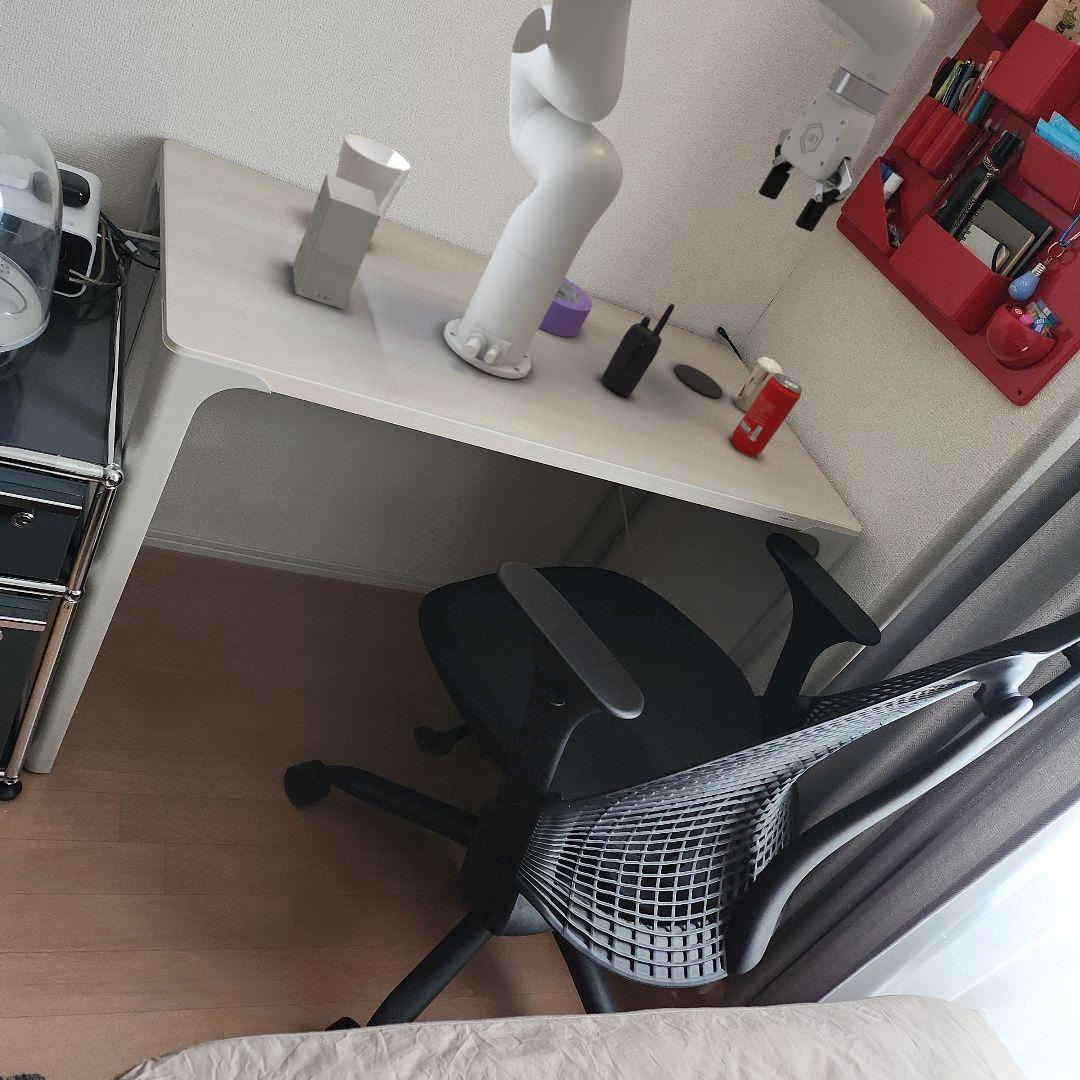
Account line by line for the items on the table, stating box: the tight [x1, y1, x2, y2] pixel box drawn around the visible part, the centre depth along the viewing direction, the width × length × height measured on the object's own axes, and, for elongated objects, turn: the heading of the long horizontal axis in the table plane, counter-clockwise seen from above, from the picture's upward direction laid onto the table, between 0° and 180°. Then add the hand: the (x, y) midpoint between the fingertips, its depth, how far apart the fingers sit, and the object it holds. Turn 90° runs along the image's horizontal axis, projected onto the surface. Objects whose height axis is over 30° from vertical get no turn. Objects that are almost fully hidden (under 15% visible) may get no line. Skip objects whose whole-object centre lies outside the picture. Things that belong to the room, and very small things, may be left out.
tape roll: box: [538, 277, 594, 338], centre depth 155 cm, size 12×12×5 cm
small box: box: [292, 173, 380, 310], centre depth 124 cm, size 8×6×13 cm
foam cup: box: [335, 134, 411, 236], centre depth 141 cm, size 10×9×13 cm
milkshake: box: [734, 356, 794, 413], centre depth 163 cm, size 4×5×10 cm
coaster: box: [673, 363, 724, 400], centre depth 165 cm, size 9×9×1 cm
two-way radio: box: [601, 303, 676, 397], centre depth 142 cm, size 6×4×15 cm
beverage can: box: [730, 373, 803, 457], centre depth 149 cm, size 5×5×12 cm
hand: (784, 212), depth 141 cm, fingers open, 9 cm apart
